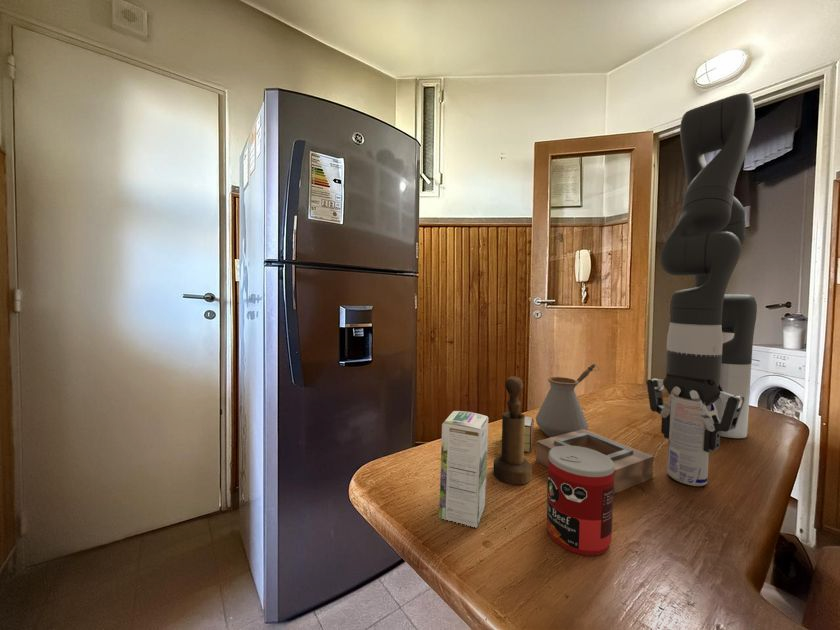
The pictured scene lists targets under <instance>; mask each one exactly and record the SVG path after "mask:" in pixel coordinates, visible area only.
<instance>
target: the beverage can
mask: <svg viewBox="0 0 840 630" xmlns="http://www.w3.org/2000/svg"><path fill="white" fill-rule="evenodd" d="M672 398H673V399H672V400H671V410H670V429H669V439H668V448H667V449H668V450H667V452H668V453H667V468H666V469H667V471H666V472H667V475H668V476H669V477H670V478H672V479H673V480H675V481H677V482H678V483H681V484H683V485H688V486H692V487H702V486H705V485H707V484H708V476H709V475H708V473H709V457H710V456H709V455H710V453H709V452H706V451H704V437H705V430H707V428H706V426H705V424H704V418H703V417H701V416H700V413H701V410H702V409H701V407H700V402H696V401H693V400H691V399H686V398H682V397H675V396H672ZM704 403H705V402H704ZM706 408H707V410H708V411H711V408H712V406H711V405H709V406H706Z"/></svg>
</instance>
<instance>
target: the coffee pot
mask: <svg viewBox="0 0 840 630" xmlns="http://www.w3.org/2000/svg"><path fill="white" fill-rule="evenodd" d="M595 367H597V368H598V369H597V370H595V369H594V368H595ZM599 369H600V366H598V365H597V364H595V363H593V364H591V365H590V366H588V367H587V369H586V370H583V372H582V373H581V375H579V377H578V378H577V379H573V378H570V377H562V376H552V377H548V379H547V381H548V382H549V385H550V388H549V391H548V392H547V394H546V397H544V400H543V402H542V405H540V408H539V411H538V412H537V413H536V417H535V422H536V425H537V426H538V427H539V429H540V430H541V431H542V432H543V433H544V435H546V436H548V438H551V437H555V436H558V435H562V434H566V433H570V432H574V431H578V430H582V429H586V430H588V428H589V423H588V421H587V419H586V417H585V413H584V411H583V408H582V406H581V403H580V402H579V398H578V396H577V394H576V391H575V388H576V387H577V385H579V384H580V383H581V382H582V381H584V379H586V378H587V377H588V376H589V374H590V372H593V371H594V372H599Z"/></svg>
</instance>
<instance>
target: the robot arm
mask: <svg viewBox="0 0 840 630" xmlns="http://www.w3.org/2000/svg"><path fill="white" fill-rule="evenodd" d="M755 109H756V108H755V103H754V100H753V97H752V95H750V94H749V93H747V92H743V93H737V94H733V95H730V96H727V97H724V98H720V99H718V100H715V101H711V102H709V103H706V104H703V105H700V106H697V107H694V108H691V109H690V110H687V111H685V112H684V114H683V115H682V117H681V119H680V128H679V135H680V136H679V137H680V146H681V151H682V158H683V163H684V164H683V165H684V171H685V176H686V177H685V178H686V185H687V189H686V191H685V193H684V196H683V201H682V205H681V211H680V217H679V219H678V220H677V223H676V225H675V226H674V228H673V229H672V231H671V233H670V234H669V236H668V237H667V239H666V241H665V243H664V245H663V247H662V248H661V251H660V256H659V260H660V265H661V268H662V269H663V271H664V272H666V273H667V274H668V275H671V276H678V277H679V276H683V277H684V276H694V287H690V288H686V289H680V290H676V291H675V292H673V293H672V295H671V299H670V310H669V311H670V313H669V315H670V316H669V328H668V331H667V339H666V359H665V360H666V362H665V373H666V375H665V377H664V378H663V379H660V378H657V377H656V378H651V379H647V380H646V388H647V394H648V395H647V396H648V402H649V408H650V410H651V411H652V412H655V413H656V414H659V415H660V416H661V426H660V427H661V428H660V432H661V435H662V434H663V437H664V438H665V439H668V440H669V429H670V410H671V400H672V399H673V398H672V396H675V397H682V398H686V399H691V400H693V401H696V402H700V407H701V409H702V410H701V413H700V416H701V417H703V418H704V424H705V426H706V428H707V430H705V437H704V451H706V452H709V454H710V453H711V454H712V453H713V452H715V451H717V450H719V448H720V441H721V437H724V438H730V439H745V438H746V437H747V436H748V425H749V413H750V412H749V408H750V397H751V396H750V394H751V393H750V391H751V376H752V375H751V374H752V359H753V347H754V345H753V344H754V334H755V328H756V327H755V326H756V320H757V313H758V305H757V300H756V298H755V297H754V296H753V295H752V294H740V293H739V294H738V293H737V294H736V293H735V294H734V293H728V294H727V293H726V290H727V287H728V284H729V282H730V279H731V278H732V275H733V273H734V271H735V268H736V266H737V265H738V262H739V260H740V256H741V254H742V246H743V245H744V244H745V241H746V236H747V235H746V234H747V233H746V232H747V231H746V210H745V208H744V205H743V204H742V203H741V202H740V201H739V199H738V198H737V197H735V196H734V195H735V194H734V193H735V189H736V183H737V179H738V176H739V173H740V171H741V169H742V165H743V163H744V161H745V157H746V154H747V152H748V148H749V146H750V142H751V139H752V136H753V133H754V127H755V119H756V115H755V114H756V113H755V112H756V111H755ZM715 151H716V152H717V151H718V152H717V154H715V156H714V157H713V158H712V159H711V160H710V161H709V163H707V161H706V159H705V154H707V153H712V152H715ZM724 333H726V334H727V333H728V334H734V335H733V338H731V339H729V340H727V341H726V342H724V340H723V339H724V338H723V334H724ZM664 389H666V391H667V393H668V394H669V395H668V397H667V399H666V400H665V403H664V396H663V390H664ZM704 402H705V403H704ZM709 405H711V406H712V408H711V411H708V410H707V408H706V406H709Z"/></svg>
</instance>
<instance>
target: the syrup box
mask: <svg viewBox="0 0 840 630" xmlns="http://www.w3.org/2000/svg"><path fill="white" fill-rule="evenodd" d="M441 423H442V422H441ZM488 435H489V417H488V416H487V415H484V414H480V413H476V412H472V411H465V410H464V411H462V410H453V411H452V412H451V413H450V415H449V416H448V417H447V418H446V419H445V420H444V421H443V423H442V424H441V443H440V444H441V446H440V447H441V450H440V451H441V452H440V453H441V454H440V478H439V479H440V483H439V485H440V486H439V513H438V518H439V519H440V518H441V519H440V520H442V519H444V520H443V521H446V520H448V521H447V522H450V521H453V522H452V523H454V522H456V523H455V524H458V523H461V524H460V525H462V524H465V525H464V526H466V525H467V526H466V527H470V526H471V527H472V528H474V527H475V529H478V527H479V525H480V522H481V519H482V516H483V513H484V510H485V507H486V498H487V497H486V494H487V467H488V465H487V464H488V442H489V441H488Z"/></svg>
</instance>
